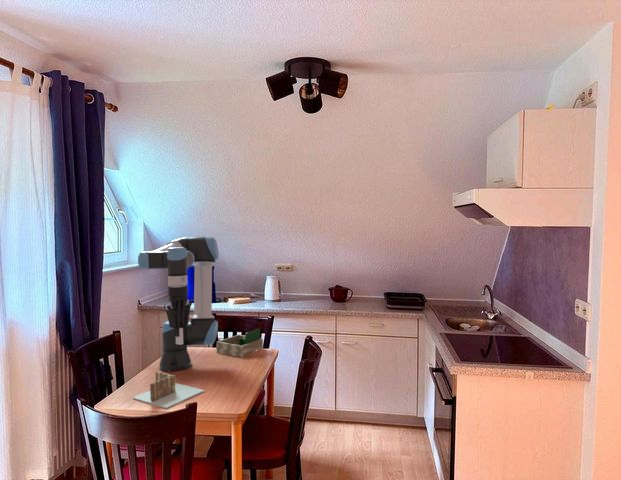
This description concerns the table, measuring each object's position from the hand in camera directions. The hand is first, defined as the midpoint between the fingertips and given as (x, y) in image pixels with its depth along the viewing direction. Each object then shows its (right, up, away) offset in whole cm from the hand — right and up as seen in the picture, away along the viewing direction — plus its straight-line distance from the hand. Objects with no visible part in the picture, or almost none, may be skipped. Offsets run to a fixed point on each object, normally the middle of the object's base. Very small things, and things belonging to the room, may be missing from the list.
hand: (179, 343), depth 178 cm
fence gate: (-8, -21, +1) cm, 23 cm away
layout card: (-6, -22, +5) cm, 23 cm away
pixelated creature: (+17, -20, +67) cm, 72 cm away
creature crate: (+14, -20, +66) cm, 71 cm away
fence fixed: (-9, -22, +9) cm, 25 cm away
